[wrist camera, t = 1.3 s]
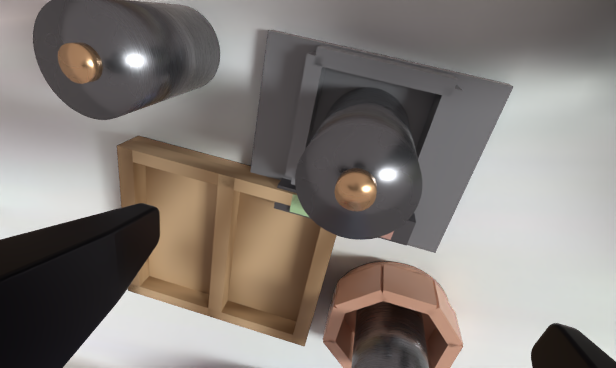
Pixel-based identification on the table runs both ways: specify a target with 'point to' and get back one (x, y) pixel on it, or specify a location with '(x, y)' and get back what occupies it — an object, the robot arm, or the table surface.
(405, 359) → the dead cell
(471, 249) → the table surface
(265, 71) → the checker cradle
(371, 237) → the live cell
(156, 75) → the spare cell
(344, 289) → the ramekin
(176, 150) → the trough board
